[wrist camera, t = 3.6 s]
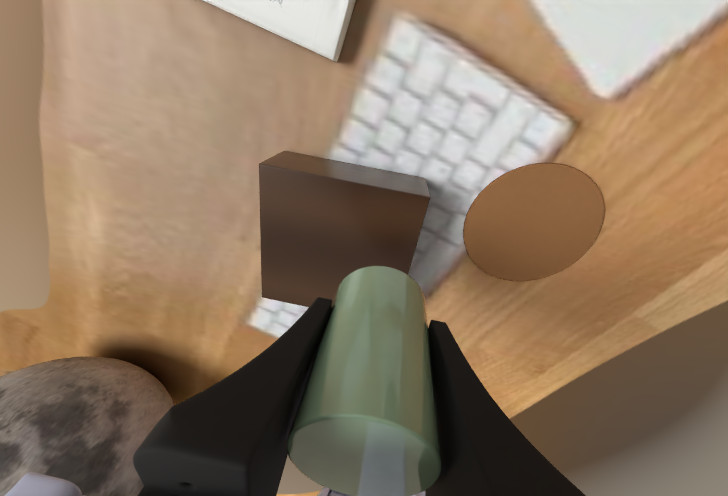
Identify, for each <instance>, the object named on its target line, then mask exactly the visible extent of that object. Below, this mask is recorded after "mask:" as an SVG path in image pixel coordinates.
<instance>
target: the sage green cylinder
mask: <svg viewBox="0 0 728 496" xmlns="http://www.w3.org/2000/svg"><path fill="white" fill-rule="evenodd" d="M287 452H288V455H289V458H290V460H291V461H292V463H293V464H294V465H295V467H296V468H298V470H299V471H300V472H301V473H303V474H304V475H305V476H307V477H308V478H310V479H311V480H313V481H314V482H316V483H318V484H320V485H322V486H324V487H326V488H329V489H331V490H334V491H337V492H340V493H343V494H347V495H351V496H413V495H416V494H419V493H421V492H423V491H425V490H427V489H429V488H430V487H431V486H432V485H434V484H435V482H436V481H437V480H438V478H439V476H440V473H441V468H442V463H441V453H440V443H439V433H438V423H437V413H436V403H435V393H434V383H433V373H432V363H431V354H430V344H429V334H428V324H427V314H426V304H425V297H424V294H423V291H422V289H421V288H420V286H419V285H418V284H417V283H416V281H415V280H414V279H412V278H411V277H410V276H409V275H407V274H406V273H404V272H402V271H400V270H397V269H395V268H391V267H386V266H369V267H364V268H361V269H358V270H356V271H354V272H352V273H351V274H349V275H348V276H347V277H345V278H344V279H343V281H342V282H341V283H340V285H339V287H338V289H337V292H336V295H335V298H334V301H333V304H332V307H331V310H330V313H329V316H328V319H327V322H326V325H325V328H324V331H323V334H322V337H321V339H320V342H319V345H318V348H317V351H316V354H315V357H314V360H313V363H312V366H311V369H310V372H309V375H308V378H307V381H306V384H305V387H304V390H303V393H302V396H301V399H300V402H299V405H298V408H297V411H296V414H295V417H294V420H293V423H292V426H291V429H290V432H289V435H288V438H287Z"/></svg>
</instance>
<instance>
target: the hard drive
mask: <svg viewBox="0 0 728 496" xmlns="http://www.w3.org/2000/svg"><path fill="white" fill-rule="evenodd" d="M203 1H205V2H207V3H210V4H212V5H214V6H216V7H218V8H220V9H223V10H225V11H227V12H229V13H231V14H233V15H235V16H238V17H240V18H242V19H244V20H246V21H248V22H251V23H253V24H255V25H257V26H259V27H261V28H264V29H266V30H268V31H270V32H272V33H274V34H277V35H279V36H281V37H283V38H285V39H287V40H290V41H292V42H294V43H296V44H298V45H301V46H303V47H305V48H307V49H309V50H312V51H314V52H316V53H318V54H319V55H321V56H324V57H326V58H328V59H330V60H333V61H335V62H337V61H338V58H339V56H340V53H341V50H342V46H343V43H344V39H345V36H346V32H347V29H348V26H349V22H350V19H351V15H352V12H353V9H354V5H355V2H356V0H203Z"/></svg>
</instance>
